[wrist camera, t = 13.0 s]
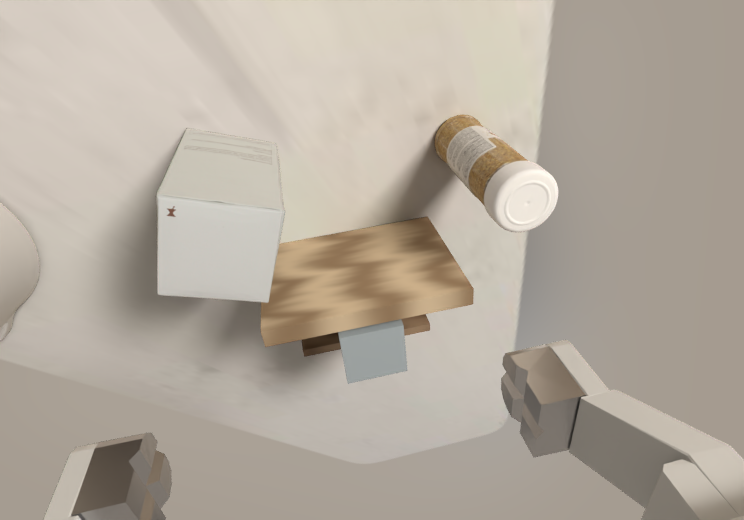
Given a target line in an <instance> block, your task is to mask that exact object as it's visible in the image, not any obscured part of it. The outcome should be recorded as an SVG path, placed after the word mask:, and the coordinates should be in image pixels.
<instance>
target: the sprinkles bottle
mask: <svg viewBox="0 0 744 520" xmlns="http://www.w3.org/2000/svg"><path fill="white" fill-rule="evenodd" d="M435 148H436V152H437V154H438V156H439V157H440V158H441V159H442V160H443V161H444V162H446V163H447V164H448V165H449V167H450V168H451V170H452V171H453V172H454V173H455V174H456V176H457V177H458V178H459V179H460V180H461V181H462V182H463V183H464V184H465V186H466V187H467V188H468V189H469V190H470V191H471V193H472V194H473V195H474V196H475V197H477V198H478V199H479V200H480V201H481V202H482V203H483V205H484V206H485V209H486V211H487V213H488V214H489V215H490V216H491V218H492V219H493V220H494V221H495V222H496V223H497V224H498V225H499V226H500V227H502V228H503V229H505V230H508V231H511V232H524V231H528V230H531V229H533V228H535V227H537V226H538V225H540V224H541V223H543V222H544V221H545V220H546V219H547V218H548V217H549V215H550V214H551V213H552V211H553V210H554V208H555V206H556V203H557V199H558V187H557V183H556V181H555V179H554V178H553V177H552V176H551V174H549V173H548V172H547V171H546V170H544V169H543V168H542V167H540V166H539V165H538V164H536V163H534V162H531V161H528V160H526V159H525V158H524V157H523V156H521V155H520V154H519V153H517V152H516V151H515V150H514V149H513V148H512V147H511V146H510V145H508V144H507V143H506V142H504V141H503V140H502V139H501V138H499V137H498V136H497V135H495V134H494V133H493V132H492V131H490V130H489V129H487V128H485V127H483V126H482V125H481V124H480V122H479V121H478V120H476V119H475V118H473V117H472V116H469V115H457V116H454V117H452V118H449V119H448V120H447V121H446V122H445V123H443V124H442V126H441V127H440V128H439V130H438V132H437V134H436V137H435Z"/></svg>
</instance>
